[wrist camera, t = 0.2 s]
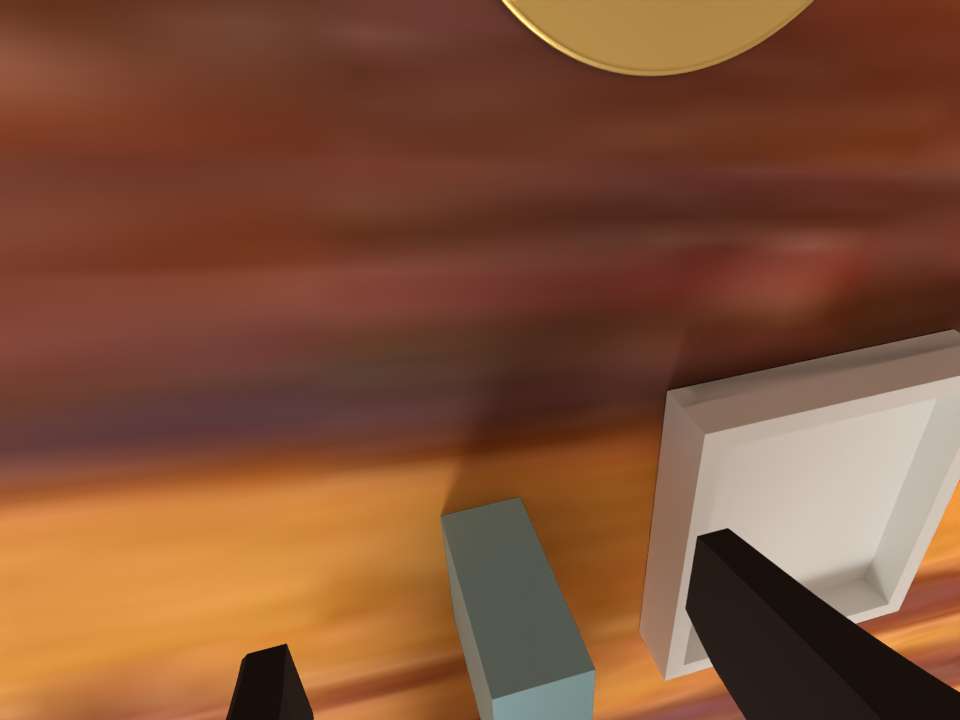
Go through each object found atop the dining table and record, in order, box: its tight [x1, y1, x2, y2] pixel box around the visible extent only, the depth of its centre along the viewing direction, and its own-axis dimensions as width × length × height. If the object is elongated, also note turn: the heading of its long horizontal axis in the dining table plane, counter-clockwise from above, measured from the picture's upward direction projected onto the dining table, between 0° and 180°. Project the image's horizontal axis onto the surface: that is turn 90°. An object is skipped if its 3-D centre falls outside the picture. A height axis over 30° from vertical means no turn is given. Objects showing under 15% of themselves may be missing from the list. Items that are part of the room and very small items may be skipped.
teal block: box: [440, 497, 595, 720], centre depth 22 cm, size 6×3×7 cm, turn 4°
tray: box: [639, 329, 960, 681], centre depth 27 cm, size 14×12×2 cm
